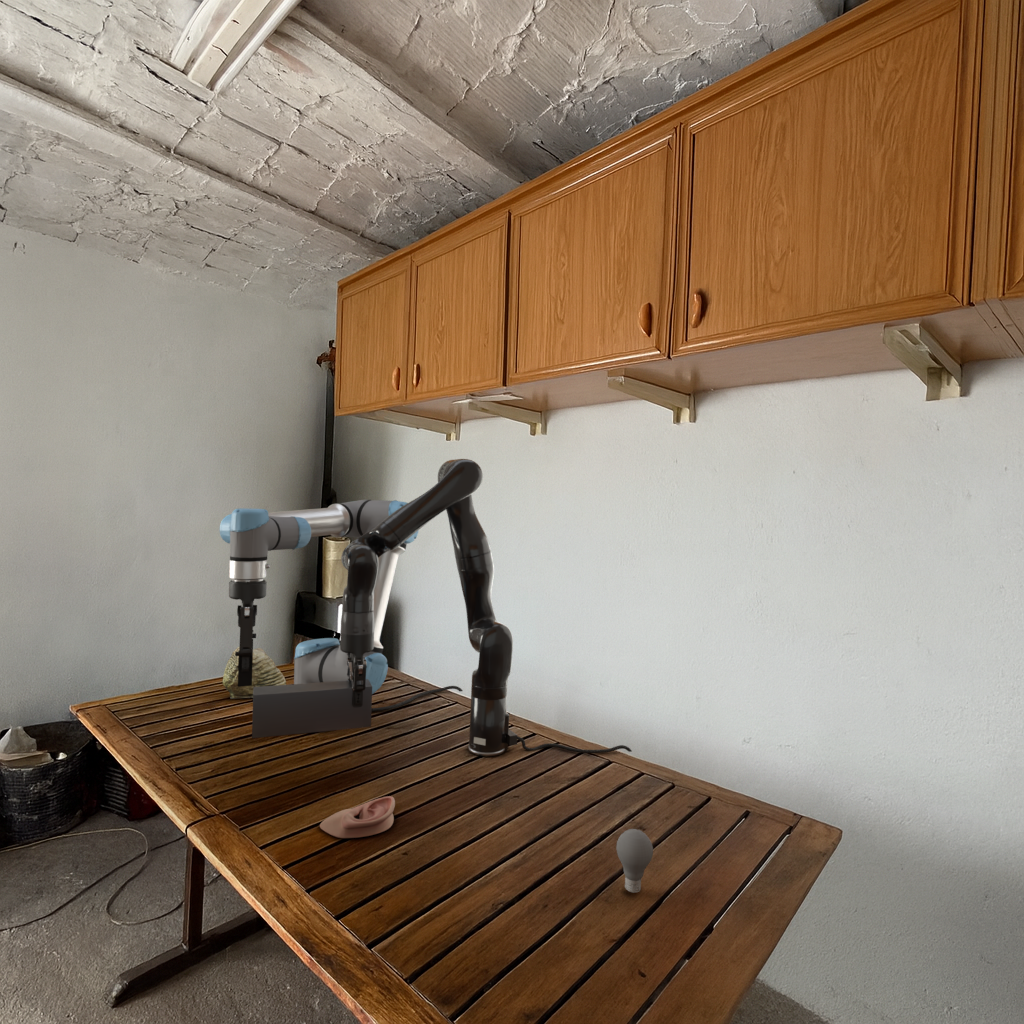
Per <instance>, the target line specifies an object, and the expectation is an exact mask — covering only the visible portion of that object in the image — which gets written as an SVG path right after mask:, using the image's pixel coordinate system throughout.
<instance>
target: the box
mask: <svg viewBox="0 0 1024 1024" xmlns="http://www.w3.org/2000/svg"><path fill="white" fill-rule="evenodd" d="M357 685H361V681H357ZM365 686H366V688H365V690H363V705H362V707H355V708H354V707H353V706H352V698H353V690H352V681H350V680H348V681H334V682H319V683H305V684H294V683H293V684H292V683H291V684H286V685H277V686H262V687H254V689H253V697H252V723H251V724H252V725H251V739H261V738H268V737H269V738H270V737H279V736H280V737H281V736H290V735H301V734H312V733H321V732H331V731H341V730H343V731H344V730H351V729H353V730H354V729H363V728H371V727H372V712H371V710H372V708H373V706H372V704H373V694H372V685H371V683H370V681H369V680H368V679H366V683H365Z"/></svg>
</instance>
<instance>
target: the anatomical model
mask: <svg viewBox="0 0 1024 1024" xmlns="http://www.w3.org/2000/svg"><path fill="white" fill-rule="evenodd" d="M395 806H396V799H395V797H393V796H392V795H391V796H390V795H389V796H388V795H387V796H383V797H379V798H376V799H372V800H369V801H367V802H365V803H362V804H360V805H358V806H355V807H352V808H346V809H345V808H344V809H342V810H340V811H337V812H335V813H333V814H331V815H329V816H328V817H327V818H325V819H324V820H322V821H321V823H320V824H319V828H320V829H321V830H322V831H324V832H325V833H326V834H329V835H331V836H333V837H335V838H339V839H354V838H355V839H356V838H363V837H369V836H373V835H377V834H381V833H383V832H385V831H387V830H389V829H390V828H391V827H392V826H393V824H394V820H395V817H394V814H393V813H394V810H395Z"/></svg>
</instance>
